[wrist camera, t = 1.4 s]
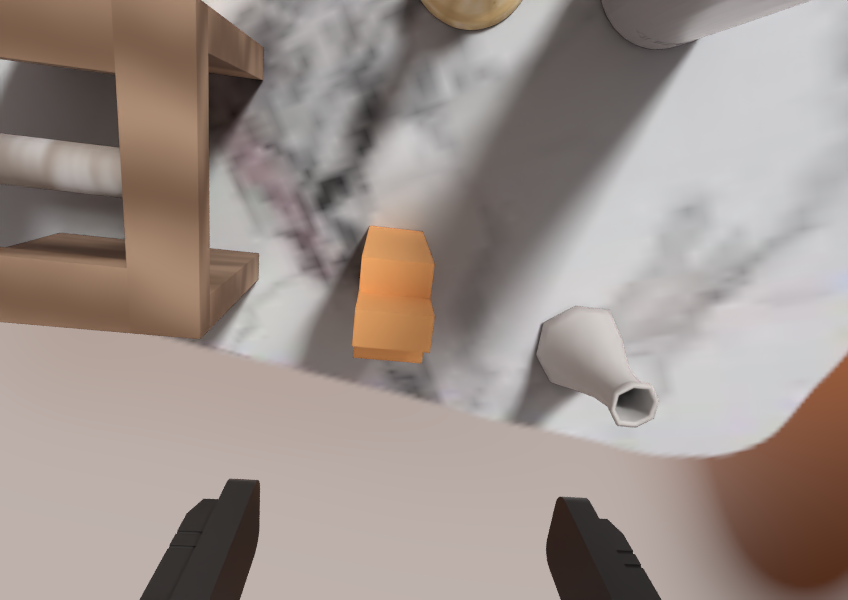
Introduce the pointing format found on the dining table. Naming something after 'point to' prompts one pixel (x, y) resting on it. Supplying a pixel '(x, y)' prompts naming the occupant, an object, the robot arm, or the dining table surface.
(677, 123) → the dining table surface
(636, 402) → the flask
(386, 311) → the stepped orange block
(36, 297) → the brown square frame
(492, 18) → the hand bell
